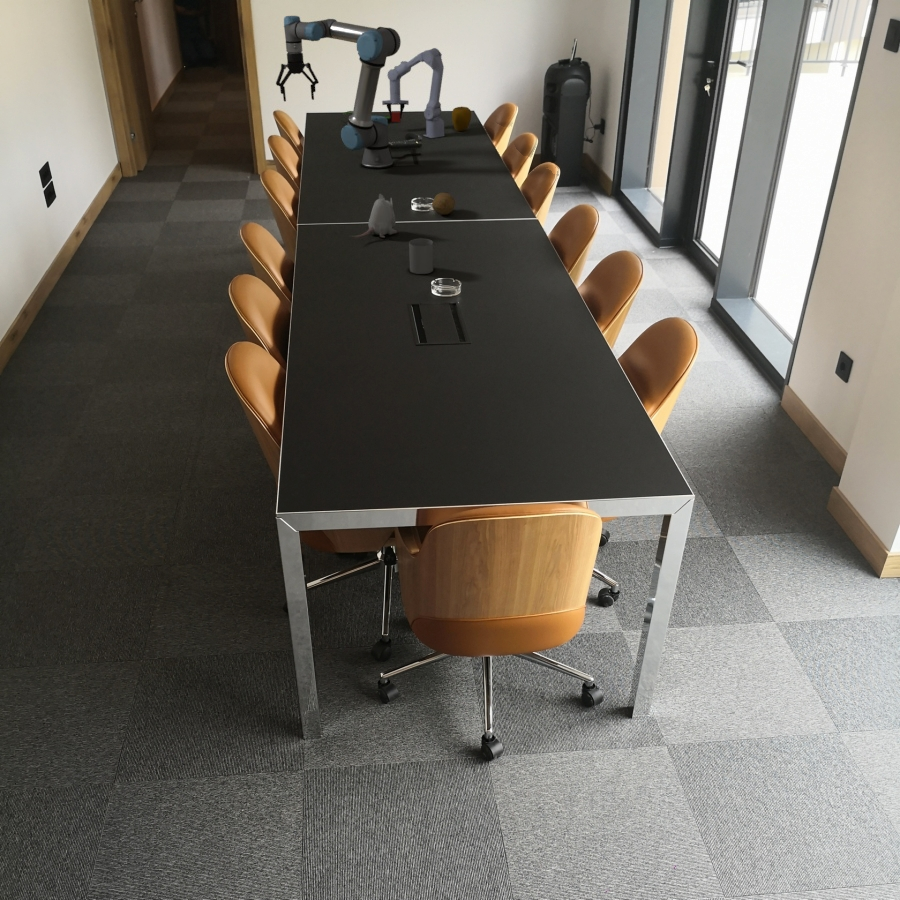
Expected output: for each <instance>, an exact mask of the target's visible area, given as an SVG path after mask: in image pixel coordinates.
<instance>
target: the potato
mask: <svg viewBox="0 0 900 900" xmlns="http://www.w3.org/2000/svg"><path fill="white" fill-rule="evenodd" d="M455 206H456V200H455V198H454V196H452V195H451V194H449V193H448V192H439V193H437V194H436V195H435V197H434V198H433V200H432V201H431V207H432V209H433V210H434V212H436V213H437V214H439V215H441V216H442V215H449V214H450V213H452V212H453V211H454V209H455Z"/></svg>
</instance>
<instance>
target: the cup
mask: <svg viewBox="0 0 900 900" xmlns="http://www.w3.org/2000/svg"><path fill="white" fill-rule="evenodd" d="M408 253H409V272H411V273H412V274H416V275H426V274H430V273H432V272H434V241H433V240H431V239H428V238H422V237H421V238H420V237H419V238H414V239H411V240H410V241H409V242H408Z"/></svg>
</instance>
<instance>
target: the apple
mask: <svg viewBox="0 0 900 900" xmlns="http://www.w3.org/2000/svg"><path fill="white" fill-rule="evenodd" d="M451 121H452V125H453V128H454V129H455V131H457V132H463V131H466V130H467V129H468V128H469V126H470V124H471V121H472V111H471V108H469V107H467V106H462V105H461V106H457V107H454V108H452V111H451Z"/></svg>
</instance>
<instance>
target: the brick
mask: <svg viewBox="0 0 900 900" xmlns="http://www.w3.org/2000/svg"><path fill="white" fill-rule="evenodd" d="M391 113H392V122H391V123H400V122H401V119H400V110H391Z"/></svg>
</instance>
